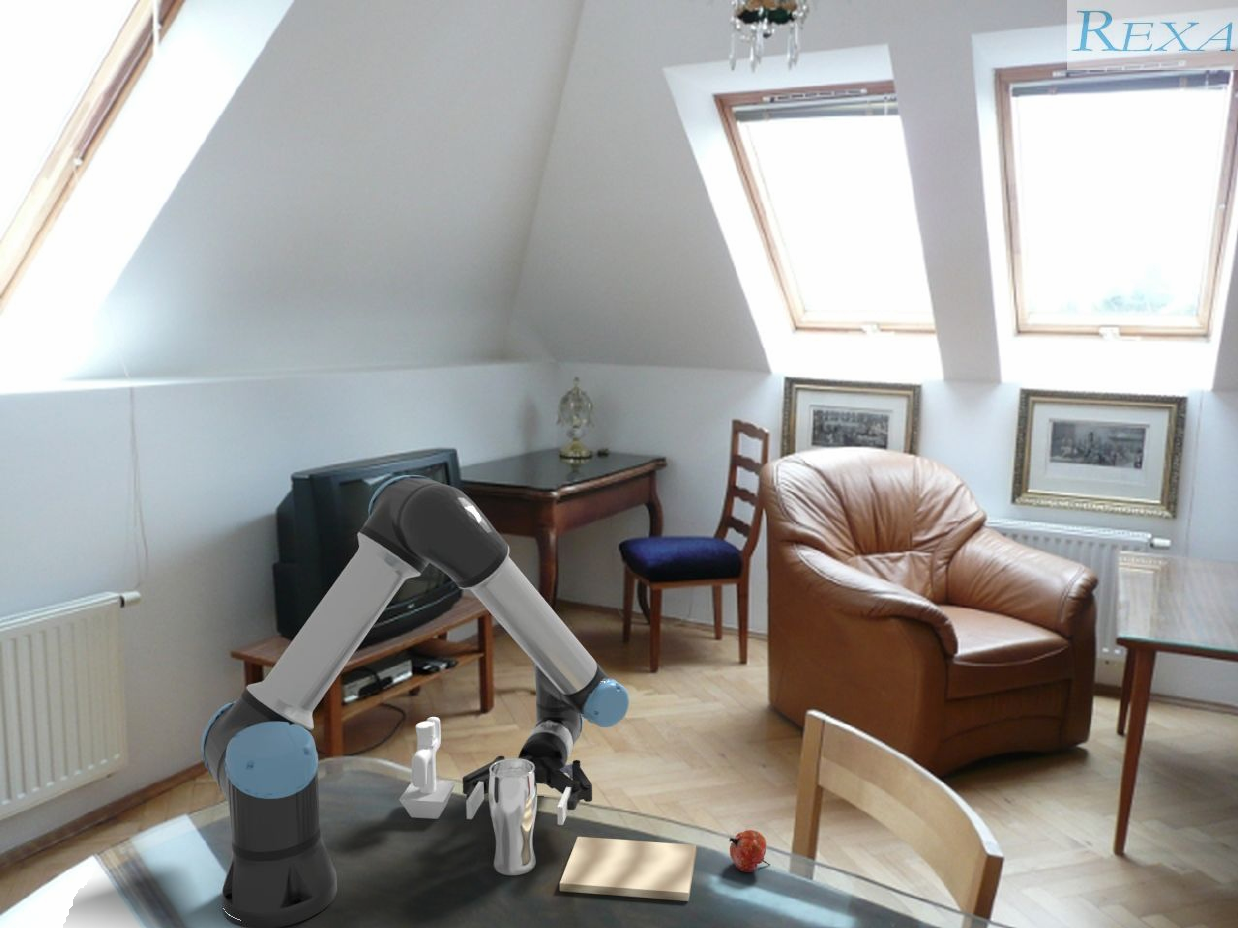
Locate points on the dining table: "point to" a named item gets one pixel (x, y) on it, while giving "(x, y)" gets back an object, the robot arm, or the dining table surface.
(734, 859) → the pomegranate
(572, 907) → the dining table surface
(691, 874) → the birch board
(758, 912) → the dining table surface
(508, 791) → the beer glass
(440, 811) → the figurine
